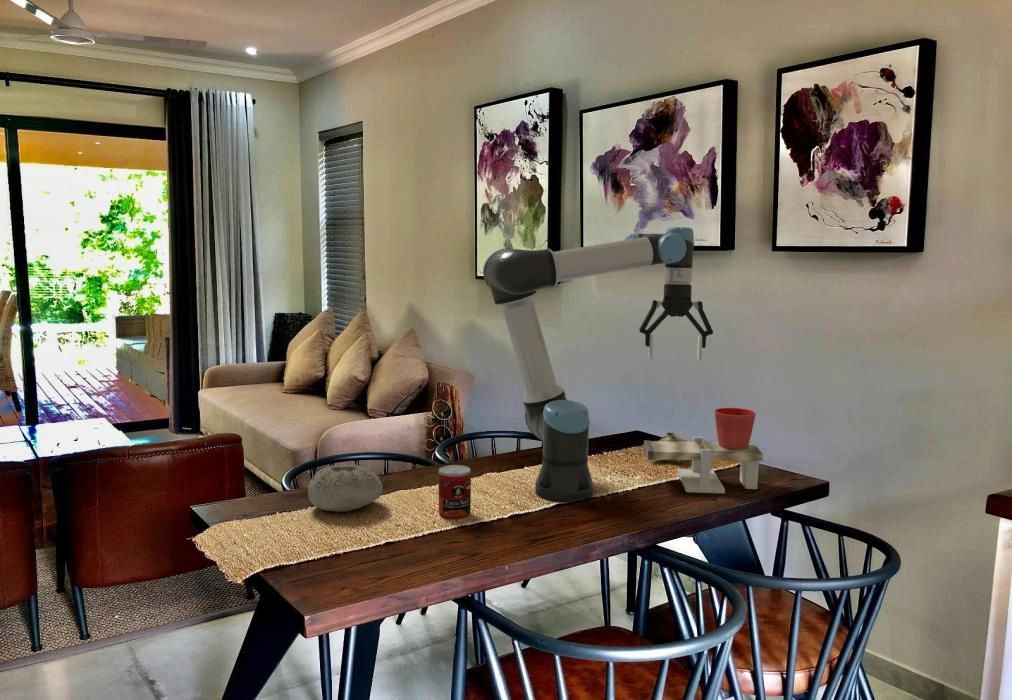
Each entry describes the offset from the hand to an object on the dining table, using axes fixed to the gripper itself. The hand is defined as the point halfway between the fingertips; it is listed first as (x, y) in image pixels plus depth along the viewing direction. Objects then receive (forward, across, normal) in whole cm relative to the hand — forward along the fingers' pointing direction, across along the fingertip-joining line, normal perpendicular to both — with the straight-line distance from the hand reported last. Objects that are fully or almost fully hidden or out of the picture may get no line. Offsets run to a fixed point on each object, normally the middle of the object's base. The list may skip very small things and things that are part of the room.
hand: (674, 358), depth 229 cm
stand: (+33, +12, -10) cm, 36 cm away
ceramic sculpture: (+33, +1, +14) cm, 36 cm away
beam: (+25, +7, -10) cm, 28 cm away
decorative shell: (+33, -83, -42) cm, 99 cm away
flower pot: (+22, +16, -10) cm, 29 cm away
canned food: (+33, -56, -44) cm, 78 cm away
